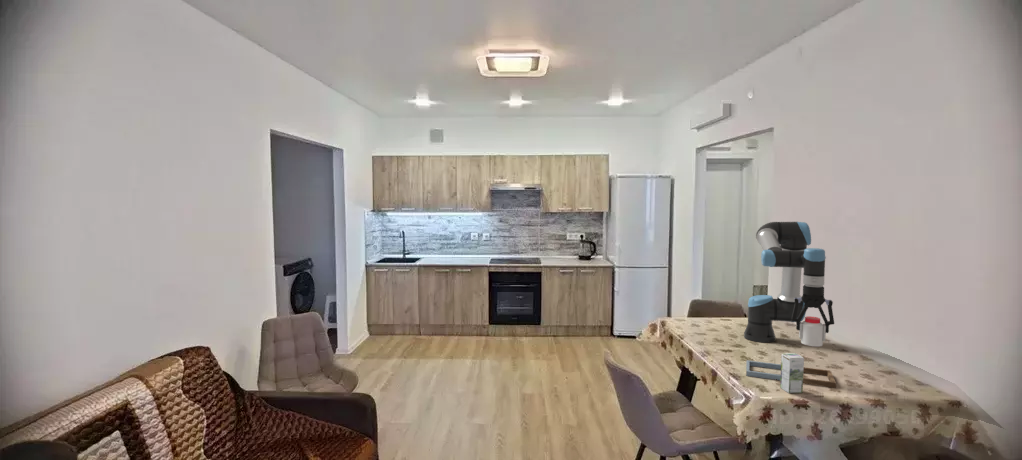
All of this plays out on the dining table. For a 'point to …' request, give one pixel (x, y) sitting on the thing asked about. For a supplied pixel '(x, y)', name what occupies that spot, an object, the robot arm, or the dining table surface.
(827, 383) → the walnut frame
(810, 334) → the pill bottle
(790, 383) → the syrup box
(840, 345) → the dining table surface
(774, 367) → the slate frame
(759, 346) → the dining table surface
